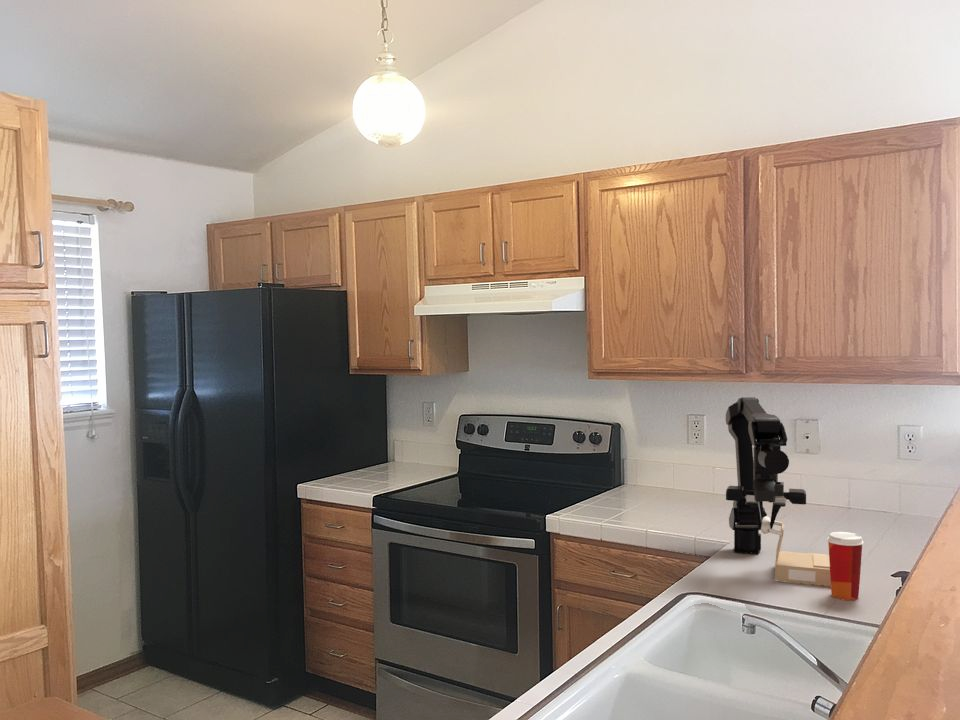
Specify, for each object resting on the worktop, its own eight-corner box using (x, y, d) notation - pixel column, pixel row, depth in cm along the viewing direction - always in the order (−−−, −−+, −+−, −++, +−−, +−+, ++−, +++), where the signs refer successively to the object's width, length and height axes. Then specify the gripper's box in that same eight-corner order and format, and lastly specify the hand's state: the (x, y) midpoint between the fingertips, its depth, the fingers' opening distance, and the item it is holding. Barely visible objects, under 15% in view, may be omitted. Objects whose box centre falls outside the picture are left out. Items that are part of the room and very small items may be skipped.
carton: (775, 581, 197) (775, 563, 197) (776, 566, 209) (776, 549, 209) (847, 588, 191) (847, 569, 191) (844, 572, 204) (844, 554, 203)
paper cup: (853, 590, 190) (853, 530, 189) (870, 601, 182) (870, 539, 182) (820, 591, 189) (820, 531, 189) (835, 602, 182) (835, 540, 181)
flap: (777, 561, 198) (755, 555, 200) (778, 549, 208) (757, 544, 210) (784, 530, 197) (761, 524, 199) (784, 520, 207) (763, 515, 209)
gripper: (724, 470, 199) (724, 534, 199) (806, 474, 192) (806, 539, 193) (727, 463, 209) (727, 523, 210) (805, 466, 203) (805, 529, 203)
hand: (765, 529), depth 204 cm, fingers closed on flap, 2 cm apart
